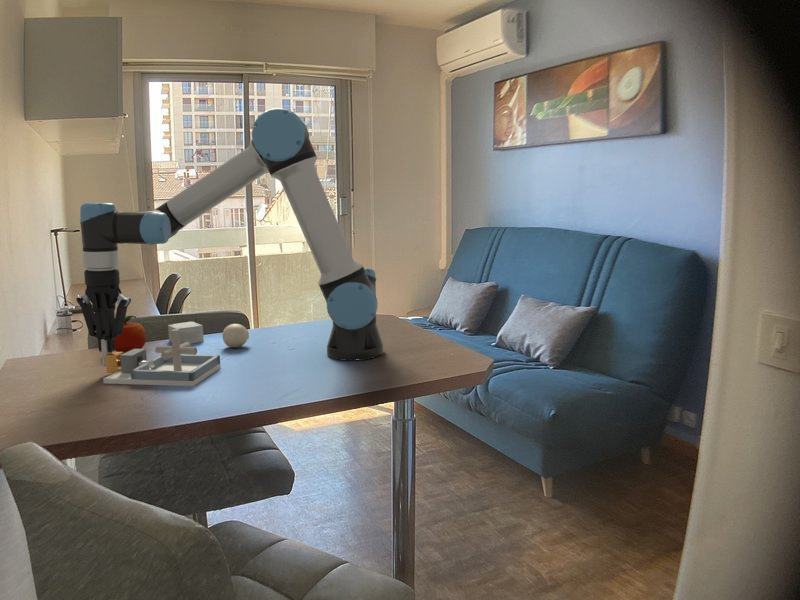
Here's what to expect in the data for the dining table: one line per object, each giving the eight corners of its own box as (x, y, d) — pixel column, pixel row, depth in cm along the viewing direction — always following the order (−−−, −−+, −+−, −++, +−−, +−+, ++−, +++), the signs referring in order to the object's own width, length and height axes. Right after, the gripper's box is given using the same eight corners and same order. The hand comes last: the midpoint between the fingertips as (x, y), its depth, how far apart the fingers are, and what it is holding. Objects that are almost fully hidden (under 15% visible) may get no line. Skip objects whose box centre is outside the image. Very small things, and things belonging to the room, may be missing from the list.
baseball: (253, 347, 178) (252, 324, 177) (228, 351, 174) (226, 327, 173) (244, 342, 183) (243, 320, 182) (220, 346, 179) (218, 323, 178)
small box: (204, 342, 186) (203, 325, 185) (178, 346, 181) (176, 328, 180) (194, 337, 192) (193, 320, 191) (168, 341, 187) (167, 324, 186)
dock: (220, 367, 158) (219, 345, 157) (193, 386, 143) (191, 362, 142) (138, 365, 161) (136, 344, 160) (103, 383, 146) (101, 360, 145)
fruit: (101, 354, 172) (98, 318, 170) (128, 346, 181) (125, 312, 179) (128, 358, 168) (125, 321, 167) (154, 349, 177) (151, 314, 175)
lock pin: (157, 370, 154) (155, 352, 153) (150, 374, 151) (149, 356, 150) (114, 369, 155) (112, 351, 155) (106, 372, 152) (105, 355, 152)
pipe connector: (185, 377, 146) (182, 335, 144) (146, 375, 148) (143, 333, 146) (207, 366, 155) (204, 326, 154) (170, 364, 157) (167, 325, 156)
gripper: (135, 267, 152) (140, 361, 157) (86, 265, 154) (93, 359, 158) (117, 271, 145) (123, 370, 149) (66, 269, 147) (74, 367, 151)
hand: (108, 364), depth 154 cm, fingers closed
